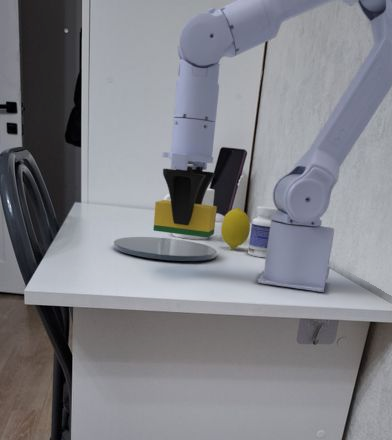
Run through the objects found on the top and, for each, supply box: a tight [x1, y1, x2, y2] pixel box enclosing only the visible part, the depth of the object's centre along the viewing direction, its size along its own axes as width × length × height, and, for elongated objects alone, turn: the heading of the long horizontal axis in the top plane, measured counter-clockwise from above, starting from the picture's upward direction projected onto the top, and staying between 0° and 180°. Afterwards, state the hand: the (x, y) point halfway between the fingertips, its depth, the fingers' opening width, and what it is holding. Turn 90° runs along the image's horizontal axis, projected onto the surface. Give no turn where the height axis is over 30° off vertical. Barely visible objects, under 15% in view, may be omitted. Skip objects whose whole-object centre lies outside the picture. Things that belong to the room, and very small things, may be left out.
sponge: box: [153, 199, 218, 239], centre depth 78 cm, size 8×4×4 cm, turn 78°
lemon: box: [220, 207, 251, 250], centre depth 106 cm, size 6×6×8 cm
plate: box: [113, 236, 218, 262], centre depth 95 cm, size 18×18×1 cm
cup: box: [163, 187, 215, 241], centre depth 115 cm, size 8×12×10 cm
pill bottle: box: [247, 205, 278, 259], centre depth 102 cm, size 5×5×9 cm
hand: (185, 222), depth 78 cm, fingers closed on sponge, 4 cm apart
